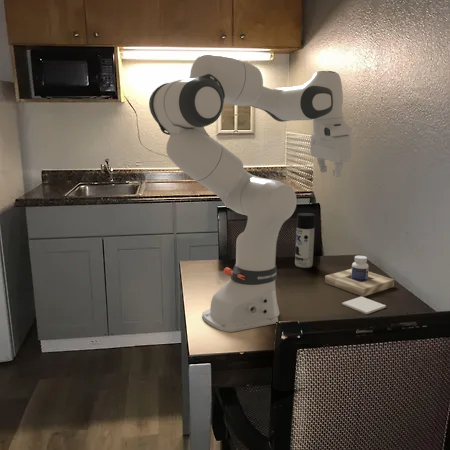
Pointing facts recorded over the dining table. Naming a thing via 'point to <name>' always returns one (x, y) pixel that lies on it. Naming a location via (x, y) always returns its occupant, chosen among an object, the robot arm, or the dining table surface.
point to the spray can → (304, 240)
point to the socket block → (359, 283)
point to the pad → (364, 305)
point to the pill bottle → (360, 269)
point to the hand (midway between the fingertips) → (330, 174)
